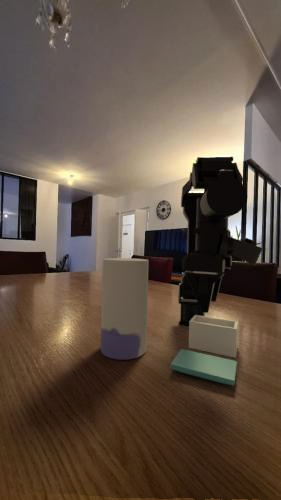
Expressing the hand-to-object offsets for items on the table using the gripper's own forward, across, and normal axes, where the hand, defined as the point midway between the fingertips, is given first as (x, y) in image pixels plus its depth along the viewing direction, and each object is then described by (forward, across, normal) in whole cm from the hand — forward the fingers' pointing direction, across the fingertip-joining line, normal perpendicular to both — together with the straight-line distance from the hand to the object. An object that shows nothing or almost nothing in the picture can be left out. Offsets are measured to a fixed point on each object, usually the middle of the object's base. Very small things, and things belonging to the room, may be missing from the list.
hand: (209, 306), depth 43 cm
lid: (+11, -2, 0) cm, 11 cm away
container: (+12, -1, +18) cm, 22 cm away
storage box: (+12, +10, 0) cm, 16 cm away
